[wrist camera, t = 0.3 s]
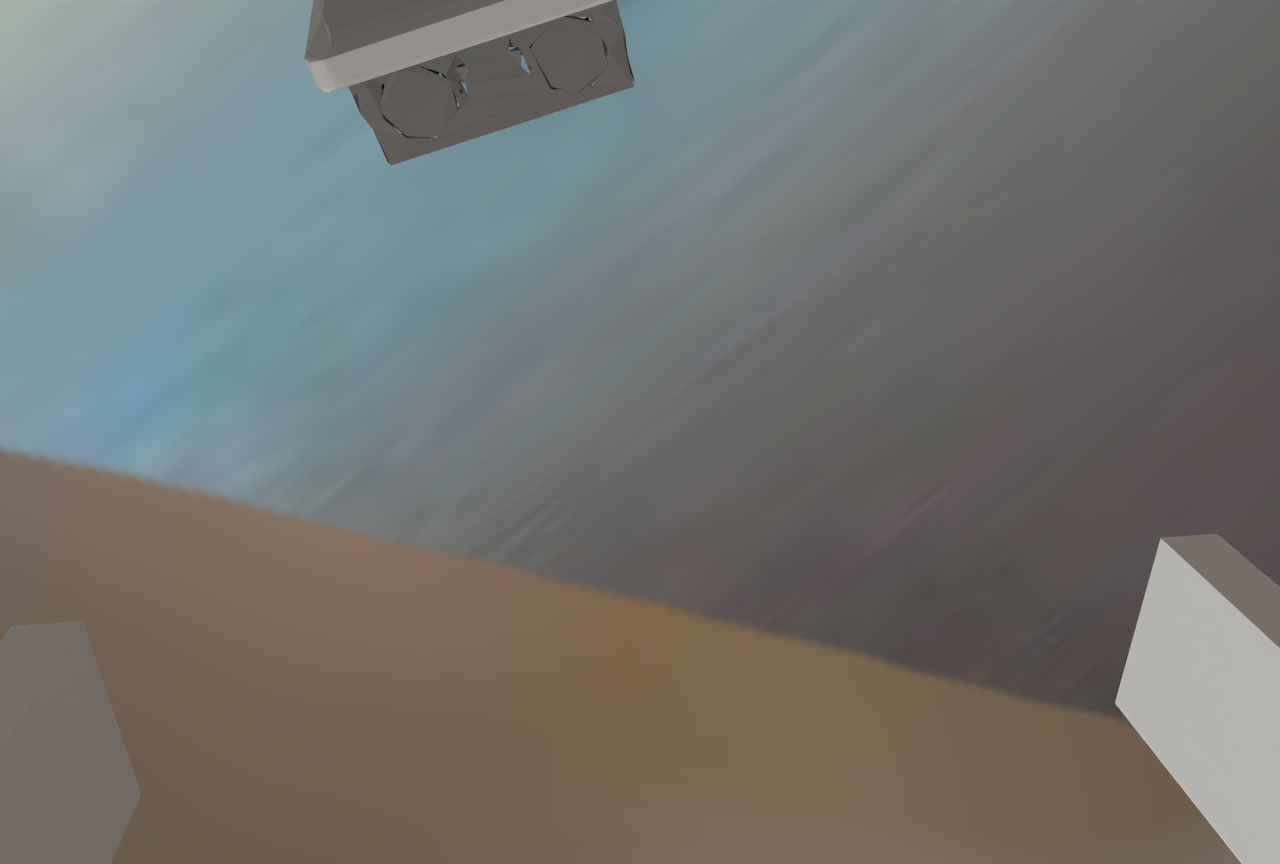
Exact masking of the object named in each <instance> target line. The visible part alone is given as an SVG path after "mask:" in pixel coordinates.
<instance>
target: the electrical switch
mask: <svg viewBox="0 0 1280 864" xmlns="http://www.w3.org/2000/svg"><path fill="white" fill-rule="evenodd" d="M588 17H591V19H592V21H593V22H592V21H589V19H588ZM515 46H518V47H516V48H514V49H512V50H510V51H509V47H515ZM522 54H523V56H524V59H525V61H526V63H527V66H528V68H529V70H530V73H531V75H530V74H529V73H528V72H526V71H525V70H524V69H523V68H522V67H521V55H522ZM305 60H306V62H307V65H308V67H309V69H310V72H311V74H312V76H313V78H314V81H315V83H316V85H317V86H318V87H319V88H321V89H322V90H324V91H325V92H327V93H330V92H333V91H336V90H339V89H342V88H345V87H349V89H350V91H351V93H352V94H353V97H354V99H355V102H356V104H357V107H358V109H359V112H360V114H361V115H362V116H363V117H364V119H365V120H366V121H367V122H368V123H369V125H370V126H371V127H372V128H373V131H374V133H375V135H376V137H377V139H378V141H379V144H380V146H381V148H382V150H383V152H384V154H385V157H386V159H387V161H388V163H389V162H390V164H391V165H394V164H397V163H400V162H403V161H406V160H409V159H412V158H415V157H418V156H421V155H424V154H427V153H431V152H434V151H437V150H440V149H443V148H446V147H449V146H452V145H455V144H458V143H461V142H464V141H467V140H470V139H474V138H477V137H480V136H483V135H486V134H489V133H492V132H495V131H498V130H501V129H504V128H507V127H510V126H513V125H517V124H520V123H523V122H526V121H529V120H532V119H535V118H538V117H541V116H544V115H547V114H550V113H553V112H556V111H560V110H563V109H566V108H569V107H572V106H575V105H578V104H581V103H584V102H587V101H590V100H593V99H596V98H599V97H603V96H606V95H609V94H612V93H615V92H618V91H621V90H624V89H627V88H630V87H633V82H632V78H633V74H632V71H631V67H630V63H629V60H628V56H627V48H626V39H625V33H624V29H623V25H622V21H621V18H620V14H619V11H618V7H617V2H616V0H314V2H313V8H312V15H311V21H310V28H309V34H308V41H307V47H306V54H305ZM439 73H441V74H442V76H443V77H442V76H440V75H438V74H439ZM631 76H632V77H631ZM595 80H596V81H595ZM633 80H634V78H633ZM594 81H595V84H594V85H592V84H593V83H594ZM461 82H464V83H466V86H467V94H468V95H467V94H466V91H465V89H464V87H463V85H462V83H461ZM634 82H635V81H634ZM556 88H558V89H556ZM456 98H457V101H458V103H459V105H460V106H459V107H457V101H456ZM394 127H396V128H397V129H398V130H399V131H400V132H401V133H403V134H401V133H399V132H398V131H397V130H396V129H395V128H394ZM434 136H438V137H437V138H431V137H434Z"/></svg>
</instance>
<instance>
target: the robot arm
mask: <svg viewBox="0 0 1280 864" xmlns="http://www.w3.org/2000/svg"><path fill="white" fill-rule="evenodd" d="M1115 704H1116V705H1117V706H1118V707H1119V709H1120V710H1121V711H1122V713H1123V714H1124V715H1125V716H1126V718H1127V719H1128V720H1129V721H1130V723H1131V724H1132V725H1133V726H1134V728H1135V729H1136V730H1137V732H1138V733H1139V734H1140V735H1141V737H1142V738H1143V739H1144V740H1145V742H1146V743H1147V744H1148V745H1149V747H1150V748H1151V749H1152V751H1153V752H1154V753H1155V754H1156V756H1157V757H1158V758H1159V760H1160V761H1161V762H1162V763H1163V764H1164V766H1165V767H1166V768H1167V770H1168V771H1169V772H1170V773H1171V775H1172V776H1173V777H1174V778H1175V780H1176V781H1177V782H1178V784H1179V785H1180V786H1181V787H1182V789H1183V790H1184V791H1185V793H1186V794H1187V795H1188V796H1189V798H1190V799H1191V800H1192V801H1193V803H1194V804H1195V805H1196V806H1197V808H1198V809H1199V810H1200V811H1201V813H1202V814H1203V815H1204V817H1205V818H1206V819H1207V820H1208V822H1209V823H1210V824H1211V826H1212V827H1213V828H1214V829H1215V831H1216V832H1217V833H1218V834H1219V836H1220V837H1221V838H1222V839H1223V841H1224V842H1225V843H1226V844H1227V846H1228V847H1229V848H1230V850H1231V851H1232V852H1233V853H1234V855H1235V856H1236V857H1237V859H1238V860H1239V861H1240V862H1241V863H1242V864H1280V587H1279V586H1278V585H1277V584H1276V583H1274V582H1273V581H1272V580H1271V579H1270V578H1268V577H1267V576H1266V575H1265V574H1264V573H1263V572H1261V571H1260V570H1259V569H1258V568H1257V567H1255V566H1254V565H1253V564H1252V563H1251V562H1250V561H1248V560H1247V559H1246V558H1245V557H1244V556H1242V555H1241V554H1240V553H1239V552H1238V551H1237V550H1235V549H1234V548H1233V547H1232V546H1231V545H1229V544H1228V543H1227V542H1226V541H1225V540H1224V539H1222V538H1221V537H1220V536H1219V535H1218V534H1208V535H1195V536H1182V537H1169V538H1161V539H1160V543H1159V546H1158V550H1157V554H1156V557H1155V561H1154V564H1153V568H1152V572H1151V575H1150V579H1149V582H1148V586H1147V590H1146V593H1145V597H1144V600H1143V604H1142V608H1141V611H1140V615H1139V618H1138V622H1137V626H1136V629H1135V633H1134V636H1133V640H1132V644H1131V647H1130V651H1129V654H1128V658H1127V662H1126V665H1125V669H1124V673H1123V676H1122V680H1121V683H1120V687H1119V691H1118V694H1117V698H1116V701H1115ZM140 796H141V793H140V790H139V787H138V784H137V781H136V778H135V775H134V773H133V769H132V767H131V764H130V761H129V758H128V755H127V752H126V749H125V746H124V743H123V740H122V737H121V734H120V731H119V728H118V725H117V722H116V719H115V716H114V713H113V710H112V707H111V704H110V701H109V698H108V695H107V692H106V689H105V686H104V684H103V681H102V678H101V675H100V672H99V669H98V666H97V663H96V660H95V657H94V654H93V651H92V648H91V645H90V642H89V639H88V636H87V633H86V630H85V627H84V624H83V621H75V622H61V623H48V624H35V625H22V626H12V627H11V628H10V629H9V631H8V632H7V633H6V635H5V636H4V638H3V639H2V640H1V642H0V864H111V862H112V860H113V858H114V855H115V853H116V851H117V849H118V846H119V844H120V842H121V840H122V837H123V835H124V833H125V830H126V828H127V826H128V823H129V821H130V819H131V817H132V814H133V812H134V809H135V807H136V805H137V803H138V800H139V798H140Z"/></svg>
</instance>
